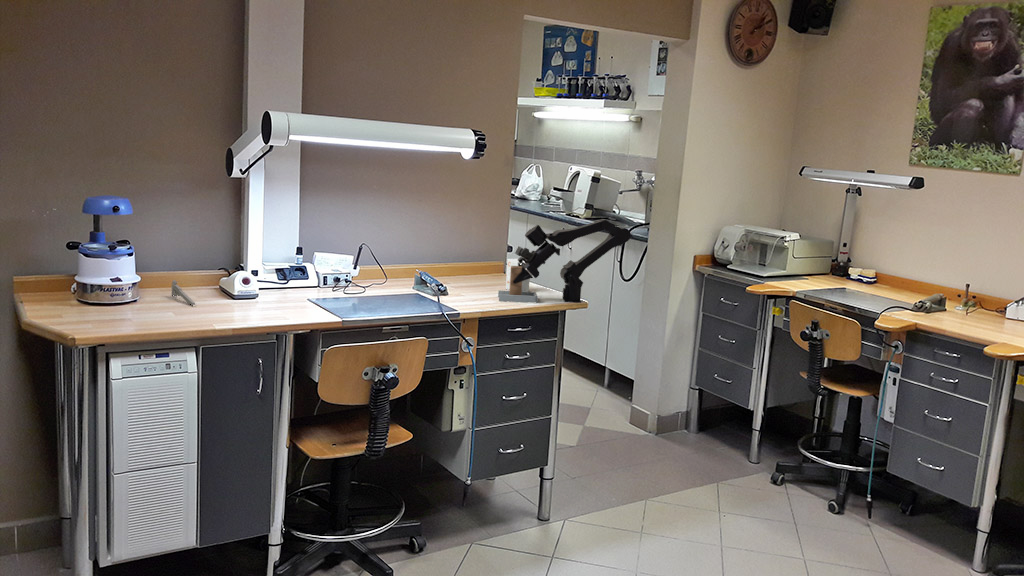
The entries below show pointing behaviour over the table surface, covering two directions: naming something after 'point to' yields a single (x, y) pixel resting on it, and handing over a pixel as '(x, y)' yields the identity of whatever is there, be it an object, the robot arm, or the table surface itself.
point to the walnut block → (514, 288)
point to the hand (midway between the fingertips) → (512, 281)
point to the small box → (510, 263)
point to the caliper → (180, 293)
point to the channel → (517, 296)
